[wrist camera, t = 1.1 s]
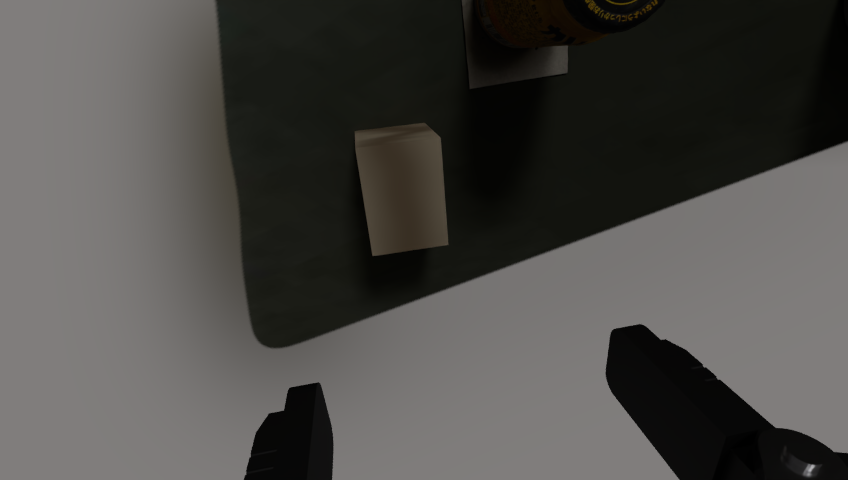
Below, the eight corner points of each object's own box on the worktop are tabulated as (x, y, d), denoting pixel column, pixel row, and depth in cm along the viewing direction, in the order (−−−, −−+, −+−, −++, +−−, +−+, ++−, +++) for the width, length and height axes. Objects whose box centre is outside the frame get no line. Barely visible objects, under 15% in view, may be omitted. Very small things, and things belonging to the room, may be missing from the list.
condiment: (567, -71, 26) (723, -163, 15) (566, 73, 29) (690, 81, 19) (456, -56, 25) (534, -142, 14) (468, 88, 29) (538, 107, 18)
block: (424, 122, 29) (440, 137, 24) (432, 213, 32) (448, 244, 27) (354, 130, 29) (355, 148, 23) (369, 222, 32) (372, 256, 26)
